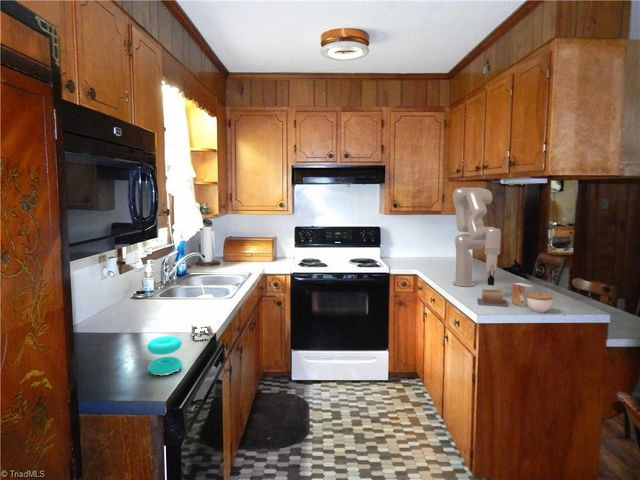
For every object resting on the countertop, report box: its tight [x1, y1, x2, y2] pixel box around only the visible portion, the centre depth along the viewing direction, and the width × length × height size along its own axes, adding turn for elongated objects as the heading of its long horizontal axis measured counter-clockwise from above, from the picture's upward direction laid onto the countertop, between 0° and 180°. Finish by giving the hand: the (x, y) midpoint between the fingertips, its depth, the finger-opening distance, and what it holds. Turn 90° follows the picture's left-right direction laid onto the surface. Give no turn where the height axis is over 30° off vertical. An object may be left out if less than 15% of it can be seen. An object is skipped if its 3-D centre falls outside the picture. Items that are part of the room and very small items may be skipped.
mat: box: [477, 297, 509, 308], centre depth 219 cm, size 12×14×1 cm
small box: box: [511, 282, 534, 308], centre depth 215 cm, size 8×6×10 cm
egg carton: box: [191, 325, 213, 337], centre depth 167 cm, size 11×8×4 cm
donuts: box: [146, 335, 183, 374], centre depth 133 cm, size 10×10×10 cm
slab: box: [481, 288, 504, 304], centre depth 221 cm, size 5×9×12 cm
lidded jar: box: [527, 291, 553, 314], centre depth 203 cm, size 11×11×9 cm
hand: (490, 284), depth 231 cm, fingers closed
